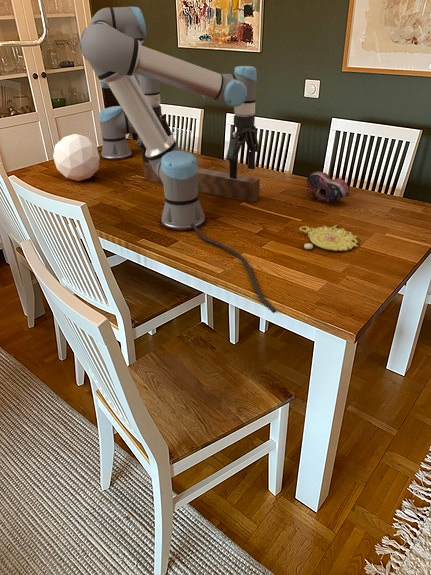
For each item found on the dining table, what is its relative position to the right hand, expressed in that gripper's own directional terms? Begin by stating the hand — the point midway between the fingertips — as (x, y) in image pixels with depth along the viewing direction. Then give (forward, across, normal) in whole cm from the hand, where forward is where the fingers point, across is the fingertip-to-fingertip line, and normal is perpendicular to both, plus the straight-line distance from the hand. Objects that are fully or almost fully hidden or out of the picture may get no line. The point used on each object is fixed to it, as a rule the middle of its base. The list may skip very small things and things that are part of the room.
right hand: (242, 173), depth 169 cm
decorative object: (+10, +17, +42) cm, 47 cm away
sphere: (+12, +15, -75) cm, 77 cm away
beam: (+10, -1, -21) cm, 23 cm away
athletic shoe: (+9, -15, +27) cm, 32 cm away
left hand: (+1, -1, -43) cm, 43 cm away
